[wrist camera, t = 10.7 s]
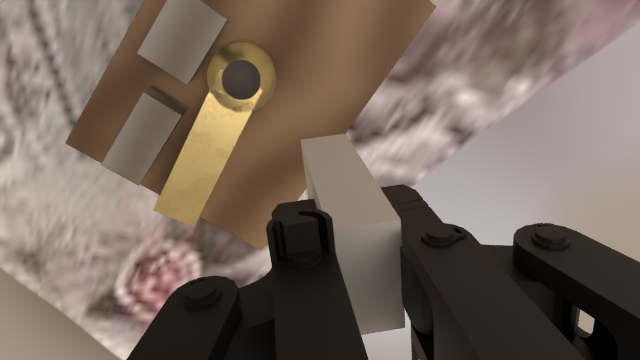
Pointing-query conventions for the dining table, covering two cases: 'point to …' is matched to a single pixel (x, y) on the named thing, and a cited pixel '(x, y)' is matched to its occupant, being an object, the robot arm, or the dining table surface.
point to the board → (295, 111)
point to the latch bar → (214, 133)
